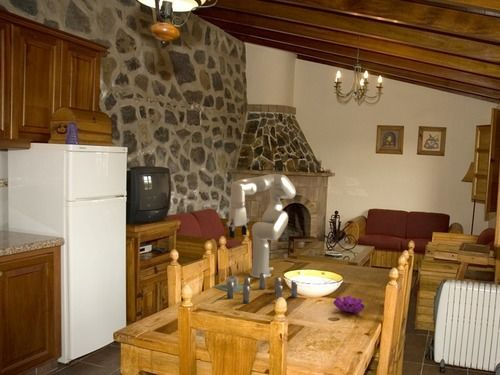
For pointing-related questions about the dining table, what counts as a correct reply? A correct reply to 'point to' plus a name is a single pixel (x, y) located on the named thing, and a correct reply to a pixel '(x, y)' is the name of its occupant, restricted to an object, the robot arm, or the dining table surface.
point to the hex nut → (232, 278)
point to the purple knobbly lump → (349, 304)
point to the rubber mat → (239, 288)
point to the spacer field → (261, 286)
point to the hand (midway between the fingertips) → (238, 236)
